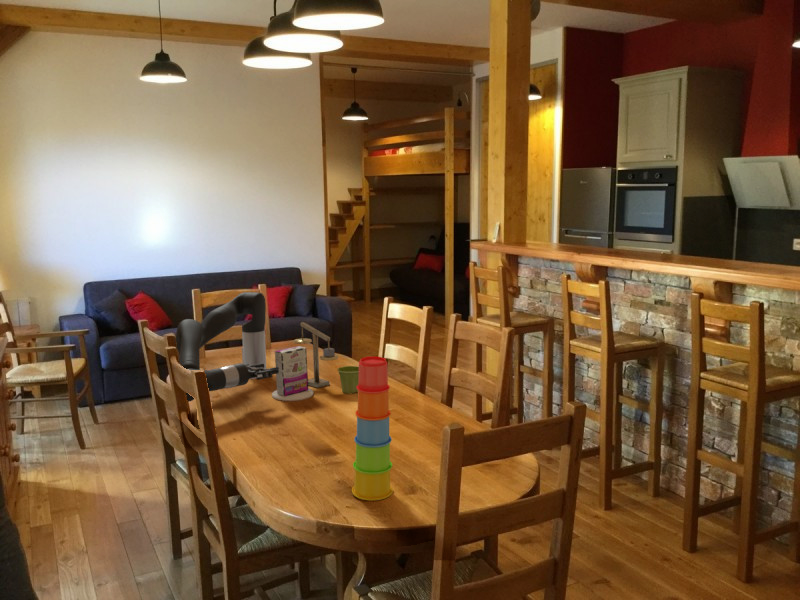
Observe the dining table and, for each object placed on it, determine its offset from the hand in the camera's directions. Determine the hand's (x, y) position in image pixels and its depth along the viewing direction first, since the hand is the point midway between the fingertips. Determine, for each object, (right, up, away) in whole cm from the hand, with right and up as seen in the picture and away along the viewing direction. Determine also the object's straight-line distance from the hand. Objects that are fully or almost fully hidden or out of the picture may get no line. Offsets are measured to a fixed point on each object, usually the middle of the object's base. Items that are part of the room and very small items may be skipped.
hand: (270, 368), depth 256 cm
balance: (+14, -9, +23) cm, 28 cm away
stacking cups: (+39, -24, -76) cm, 89 cm away
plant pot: (+27, -10, +13) cm, 32 cm away
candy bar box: (+6, -10, +10) cm, 15 cm away
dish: (+6, -11, +10) cm, 16 cm away
